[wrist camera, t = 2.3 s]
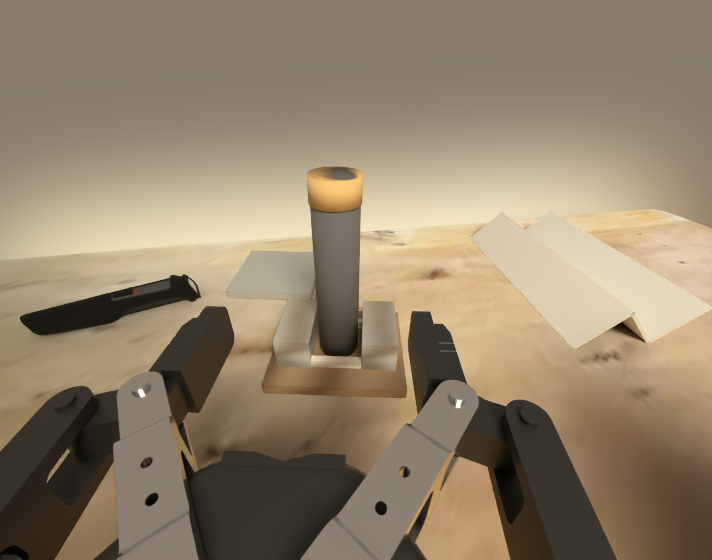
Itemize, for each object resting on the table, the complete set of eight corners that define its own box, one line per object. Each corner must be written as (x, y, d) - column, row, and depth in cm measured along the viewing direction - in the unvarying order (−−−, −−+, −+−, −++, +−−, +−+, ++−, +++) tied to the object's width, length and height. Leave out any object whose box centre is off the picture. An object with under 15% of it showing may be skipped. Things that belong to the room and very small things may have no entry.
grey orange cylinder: (316, 358, 28) (301, 180, 20) (321, 329, 32) (310, 165, 23) (358, 359, 28) (362, 182, 20) (359, 330, 32) (363, 167, 23)
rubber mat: (227, 297, 38) (225, 290, 37) (253, 256, 46) (251, 250, 45) (310, 300, 37) (310, 293, 37) (321, 258, 46) (320, 252, 45)
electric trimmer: (41, 327, 33) (23, 304, 32) (197, 285, 40) (190, 264, 38) (33, 350, 31) (13, 326, 29) (202, 301, 37) (194, 279, 35)
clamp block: (263, 392, 27) (256, 360, 24) (288, 316, 35) (284, 286, 33) (405, 397, 26) (410, 365, 24) (396, 319, 35) (400, 290, 32)
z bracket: (593, 374, 34) (572, 348, 31) (487, 260, 55) (469, 238, 52) (712, 308, 30) (701, 272, 28) (551, 212, 51) (534, 185, 48)
